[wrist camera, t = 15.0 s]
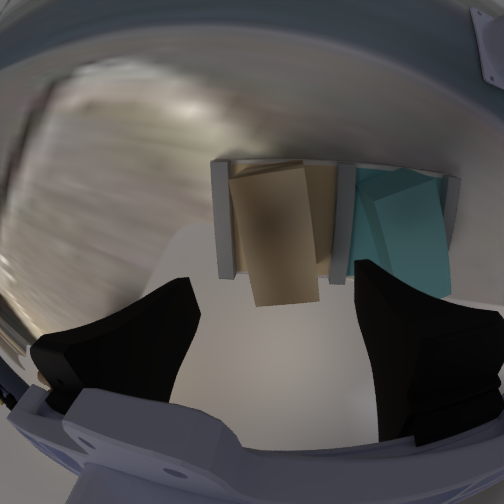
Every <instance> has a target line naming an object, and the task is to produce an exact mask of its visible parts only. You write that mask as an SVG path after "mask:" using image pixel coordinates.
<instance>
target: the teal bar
mask: <svg viewBox="0 0 504 504" xmlns="http://www.w3.org/2000/svg"><path fill="white" fill-rule="evenodd" d="M355 185H356V187H357V190H358V193H359V196H360V199H361V202H362V205H363V208H364V211H365V214H366V217H367V220H368V223H369V227H370V230H371V233H372V237H373V240H374V244H375V247H376V251H377V255H378V258H379V262H380V266H381V268H383V269H384V270H386V271H387V272H388V273H390V274H391V275H393V276H394V277H396V278H398V279H399V280H401V281H403V282H404V283H406V284H408V285H410V286H411V287H413V288H415V289H417V290H419V291H421V292H424V293H426V294H428V295H430V296H433V297H435V298H438V299H441V298H443V297H445V296H447V295H450V294H451V279H450V266H449V256H448V248H447V240H446V233H445V227H444V221H443V215H442V210H441V205H440V200H439V195H438V191H437V186H436V182H435V179H434V178H431V177H429V176H426V175H424V174H421V173H419V172H416V171H414V170H411V169H408V168H406V167H402V168H399V169H397V170H394V171H391V172H388V173H385V174H383V175H380V176H377V177H374V178H372V179H369V180H366V181H363V182H361V183H358V184H355Z"/></svg>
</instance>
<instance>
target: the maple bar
mask: <svg viewBox="0 0 504 504" xmlns="http://www.w3.org/2000/svg"><path fill="white" fill-rule="evenodd" d="M228 181H229V186H230V191H231V195H232V200H233V205H234V209H235V214H236V219H237V223H238V228H239V232H240V237H241V242H242V246H243V251H244V255H245V260H246V264H247V269H248V274H249V277H250V283H251V287H252V292H253V296H254V301H255V305H256V307H259V306H273V305H285V304H297V303H307V302H317V301H319V289H318V277H317V266H316V256H315V247H314V238H313V229H312V221H311V213H310V206H309V198H308V191H307V184H306V178H305V171H304V166H303V161H302V160H295V161H288V162H281V163H274V164H268V165H261V166H255V167H250V168H245V169H243V170H242V171H240V172H239V173H237V174H236V175H234V176H233V177H232V178H230V179H229V180H228Z"/></svg>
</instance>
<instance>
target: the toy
mask: <svg viewBox="0 0 504 504" xmlns="http://www.w3.org/2000/svg"><path fill="white" fill-rule="evenodd" d="M4 397H5V396H3V392H2V390H1V389H0V404H1V405H3V404H4V403H5V404H6V406H7V408H9V409H10V410H11V411H12V410H13V408H14V407H15V406H16V404H17V402H16V401H15V397H14V396H12V395H11V394H8V395H7V396H6V398H4ZM2 403H3V404H2Z"/></svg>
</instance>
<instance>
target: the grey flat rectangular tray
mask: <svg viewBox="0 0 504 504" xmlns="http://www.w3.org/2000/svg"><path fill="white" fill-rule="evenodd" d="M295 160H302V161H303V166H304V171H305V178H306V184H307V191H308V198H309V206H310V213H311V221H312V229H313V238H314V247H315V256H316V266H317V277H321V278H329V283H330V284H338V285H340V284H342V285H344V284H345V280H346V278H350V279H354V260H361V259H369V260H371V261H373V262H374V263H376V264H377V265H378V266H380V262H379V258H378V255H377V251H376V247H375V244H374V240H373V237H372V233H371V230H370V227H369V223H368V220H367V217H366V214H365V211H364V208H363V205H362V202H361V199H360V196H359V193H358V190H357V187H356V185H355V184H358V183H361V182H363V181H366V180H369V179H372V178H374V177H377V176H380V175H383V174H385V173H388V172H391V171H394V170H397V169H399V168H402V167H398V166H390V165H381V164H371V163H361V162H348V161H333V160H314V159H273V158H260V159H218V160H212V161H210V167H211V184H212V199H213V214H214V227H215V239H216V252H217V263H218V274H219V279H232V280H234V278H235V276H236V274H248V269H247V264H246V260H245V255H244V251H243V246H242V242H241V237H240V232H239V228H238V223H237V219H236V214H235V209H234V205H233V200H232V195H231V191H230V186H229V181H228V180H229V179H230V178H232V177H233V176H234V175H236V174H237V173H239V172H240V171H242V170H243V169H245V168H250V167H255V166H261V165H268V164H274V163H281V162H288V161H295ZM408 169H411V170H414V171H416V172H419V173H421V174H424V175H426V176H429V177H431V178H434V179H435V182H436V186H437V191H438V195H439V200H440V205H441V210H442V215H443V221H444V227H445V233H446V240H447V248H448V251H449V246H450V242H451V237H452V233H453V228H454V222H455V217H456V211H457V204H458V198H459V190H460V181H461V179H460V178H458V177H456V176H454V175H450V174H445V173H439V172H433V171H427V170H420V169H414V168H408ZM380 267H381V266H380Z"/></svg>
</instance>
